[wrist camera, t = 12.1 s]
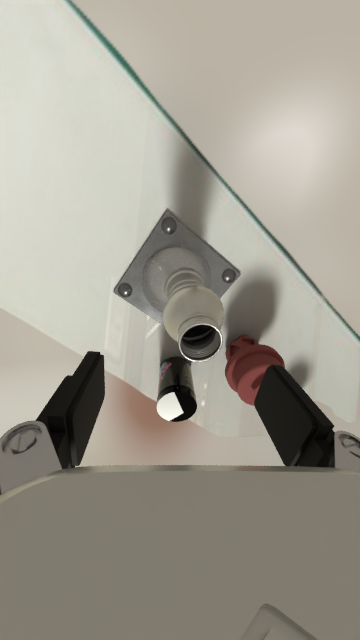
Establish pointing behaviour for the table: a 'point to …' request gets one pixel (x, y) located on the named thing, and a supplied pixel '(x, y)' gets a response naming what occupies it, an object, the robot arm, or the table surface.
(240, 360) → the mechanical component
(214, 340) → the plastic bottle
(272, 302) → the table surface
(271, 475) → the robot arm
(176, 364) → the supplement container
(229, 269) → the duct flange
